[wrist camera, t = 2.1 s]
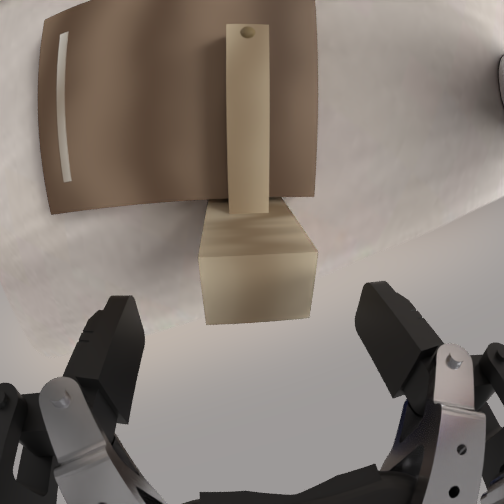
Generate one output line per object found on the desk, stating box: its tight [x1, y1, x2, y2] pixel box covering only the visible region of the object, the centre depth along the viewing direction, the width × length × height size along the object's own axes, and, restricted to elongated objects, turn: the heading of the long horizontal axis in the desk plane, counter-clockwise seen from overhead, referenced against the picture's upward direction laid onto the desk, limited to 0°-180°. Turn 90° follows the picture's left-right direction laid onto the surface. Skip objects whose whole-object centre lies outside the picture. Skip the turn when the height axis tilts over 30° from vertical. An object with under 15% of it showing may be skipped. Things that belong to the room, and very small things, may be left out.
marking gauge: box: [198, 24, 318, 325], centre depth 12 cm, size 4×13×8 cm, turn 0°
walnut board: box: [38, 0, 318, 215], centre depth 13 cm, size 17×14×2 cm
